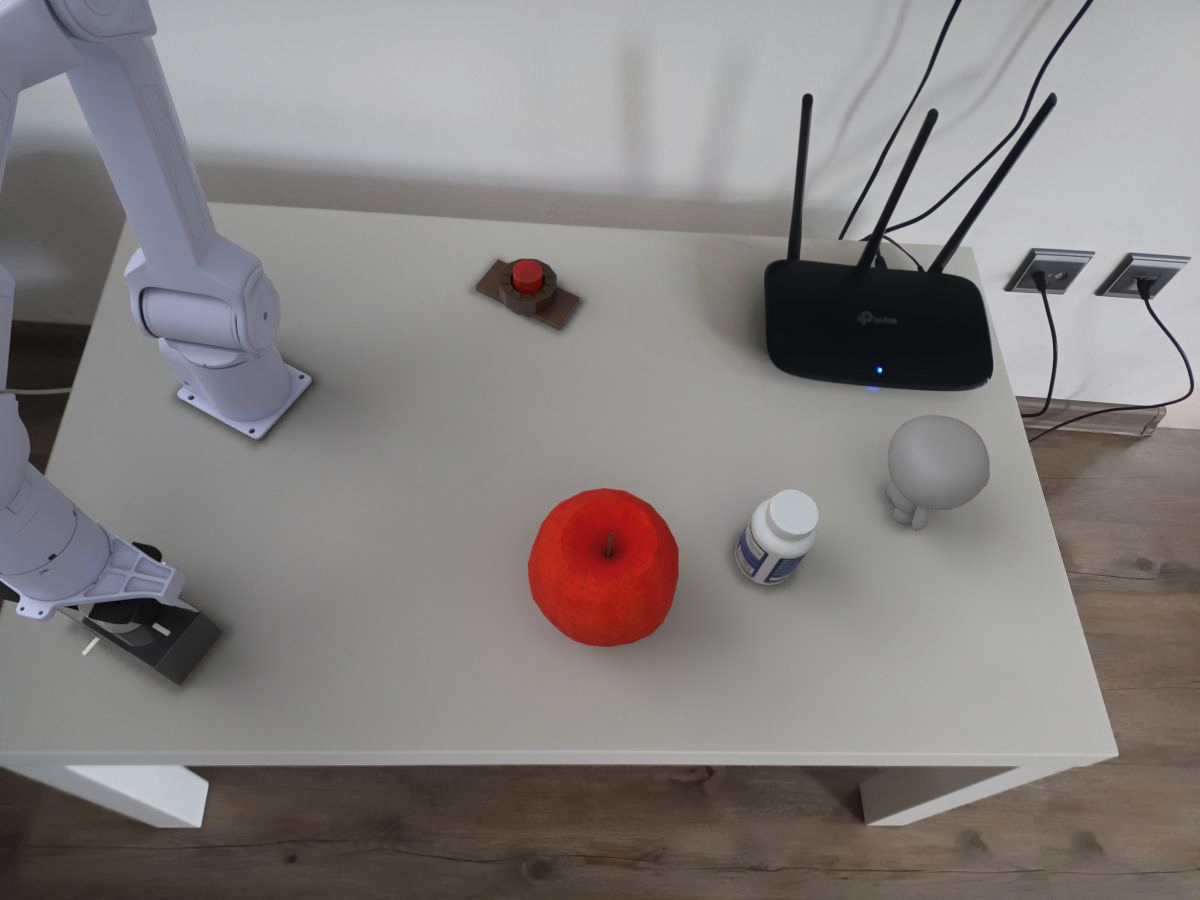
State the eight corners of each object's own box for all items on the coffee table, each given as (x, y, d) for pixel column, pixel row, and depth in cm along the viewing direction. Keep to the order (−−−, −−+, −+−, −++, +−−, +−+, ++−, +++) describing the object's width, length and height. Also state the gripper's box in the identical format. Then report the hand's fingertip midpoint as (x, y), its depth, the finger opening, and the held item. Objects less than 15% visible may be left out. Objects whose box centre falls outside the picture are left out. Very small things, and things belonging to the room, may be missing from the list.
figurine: (947, 544, 75) (1016, 483, 64) (869, 550, 74) (926, 490, 63) (920, 467, 78) (980, 398, 68) (845, 472, 78) (895, 404, 67)
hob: (65, 641, 64) (30, 621, 60) (141, 557, 68) (114, 532, 64) (164, 705, 62) (136, 688, 58) (237, 615, 66) (216, 593, 62)
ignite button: (507, 286, 83) (507, 274, 81) (522, 267, 84) (522, 255, 83) (532, 298, 82) (533, 286, 81) (547, 279, 84) (548, 267, 82)
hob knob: (86, 626, 60) (62, 610, 57) (114, 576, 62) (93, 559, 59) (137, 639, 60) (116, 624, 57) (164, 589, 62) (145, 572, 59)
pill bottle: (799, 541, 73) (834, 493, 65) (786, 595, 71) (821, 552, 62) (741, 522, 74) (769, 471, 66) (727, 574, 71) (753, 528, 63)
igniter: (471, 295, 85) (470, 278, 83) (501, 259, 87) (501, 242, 85) (555, 335, 83) (556, 319, 81) (583, 297, 86) (584, 281, 84)
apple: (681, 655, 67) (713, 601, 56) (542, 685, 65) (546, 635, 54) (645, 527, 73) (668, 454, 61) (516, 551, 71) (514, 480, 59)
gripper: (-133, 566, 47) (-1, 636, 59) (108, 619, 46) (193, 679, 58) (-60, 461, 50) (51, 547, 62) (165, 510, 50) (234, 587, 62)
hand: (123, 605), depth 60 cm, fingers closed on hob knob, 4 cm apart
